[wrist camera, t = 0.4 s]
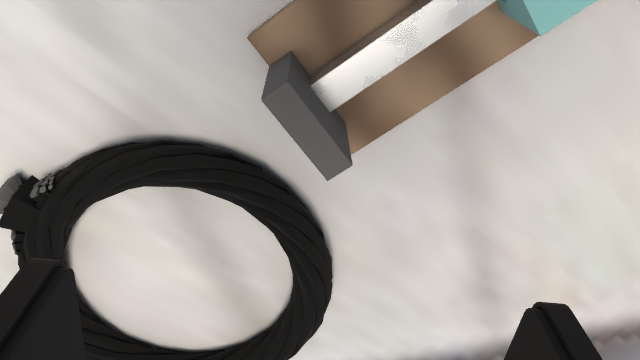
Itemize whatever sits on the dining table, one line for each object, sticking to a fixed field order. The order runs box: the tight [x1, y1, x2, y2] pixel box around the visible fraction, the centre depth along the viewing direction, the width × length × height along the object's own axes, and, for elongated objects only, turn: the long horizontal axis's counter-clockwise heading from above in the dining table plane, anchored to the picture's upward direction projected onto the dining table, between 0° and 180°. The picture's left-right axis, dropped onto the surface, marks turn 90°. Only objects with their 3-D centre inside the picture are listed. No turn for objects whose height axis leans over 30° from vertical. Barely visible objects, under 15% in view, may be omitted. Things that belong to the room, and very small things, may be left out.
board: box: [248, 0, 539, 154], centre depth 35 cm, size 24×12×1 cm, turn 126°
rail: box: [310, 0, 496, 112], centre depth 34 cm, size 21×2×2 cm, turn 126°
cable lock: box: [0, 141, 332, 360], centre depth 45 cm, size 28×4×30 cm
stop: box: [261, 51, 352, 181], centre depth 35 cm, size 2×7×7 cm, turn 35°
